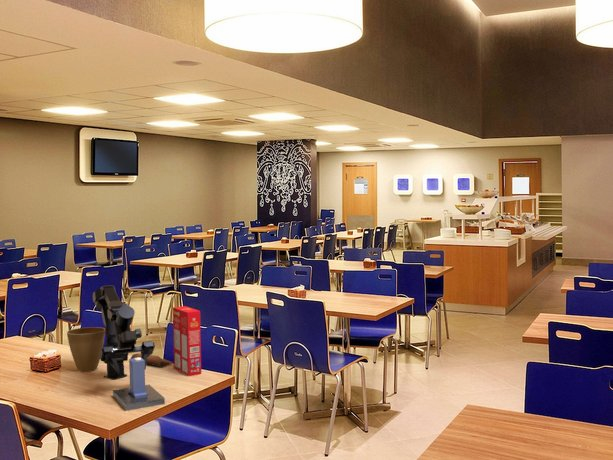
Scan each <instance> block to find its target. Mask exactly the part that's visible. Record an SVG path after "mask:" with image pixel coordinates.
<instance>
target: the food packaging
mask: <svg viewBox="0 0 613 460" xmlns="http://www.w3.org/2000/svg"><path fill="white" fill-rule="evenodd" d="M172 326H173V327H172V329H173V331H172V333H173V334H172V335H173V336H172V337H173V339H172V340H173V369H175V370H177V371H178V372H180V373H182V374H184V375H186V376H188V377H193V376H198V375H202V343H201V342H202V339H201V336H202V334H201V333H202V332H201V329H202V328H201V311H200V310H198V309H196V308H193V307H190V306H186V305H182V306H175V307H174V306H173V307H172Z"/></svg>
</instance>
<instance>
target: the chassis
mask: <svg viewBox="0 0 613 460" xmlns="http://www.w3.org/2000/svg"><path fill="white" fill-rule="evenodd" d="M128 388H129V387H127V388H121V389H115V390H114V389H113V390H112V397H113V398H114V399H115V400H116V401H117V402H118V403H119V404H120V406H121V407H122V408H123V409H124V410H125V411H132V410H139V409H143V408H149V407H154V406H161V405H165V403H166V401H165V399H166V398H165V397H164V396H163V395H162V394H161V393H159V391H157V390H156V389H155V388H154V387H153V386H152V385H150V384H145V392H146V393H147V397H145V398H139V399H135V398H132V397H131V396H130V392H129V391H128Z"/></svg>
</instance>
